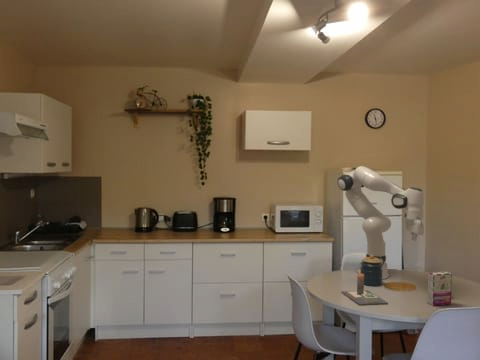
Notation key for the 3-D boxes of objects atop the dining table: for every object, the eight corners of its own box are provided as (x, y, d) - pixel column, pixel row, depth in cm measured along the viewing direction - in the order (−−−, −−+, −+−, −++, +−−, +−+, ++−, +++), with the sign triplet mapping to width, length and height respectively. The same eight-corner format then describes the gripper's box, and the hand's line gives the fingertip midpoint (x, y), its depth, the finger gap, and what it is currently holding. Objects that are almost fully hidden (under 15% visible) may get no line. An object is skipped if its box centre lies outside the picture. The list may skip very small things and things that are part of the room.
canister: (378, 287, 254) (379, 257, 253) (356, 284, 261) (357, 254, 260) (385, 283, 264) (385, 254, 264) (364, 279, 272) (364, 251, 271)
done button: (364, 298, 228) (364, 292, 228) (371, 298, 228) (371, 292, 228) (368, 300, 224) (368, 294, 224) (374, 300, 225) (374, 294, 225)
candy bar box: (444, 301, 229) (445, 271, 229) (451, 304, 224) (452, 273, 224) (426, 303, 226) (427, 272, 226) (433, 306, 222) (434, 274, 221)
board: (341, 292, 242) (341, 286, 242) (367, 291, 245) (368, 286, 245) (359, 305, 220) (359, 299, 220) (388, 304, 223) (388, 297, 223)
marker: (355, 293, 238) (356, 273, 238) (361, 293, 239) (362, 273, 239) (358, 295, 235) (359, 275, 235) (364, 295, 236) (365, 274, 235)
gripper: (427, 218, 237) (426, 243, 237) (414, 214, 257) (413, 237, 258) (415, 218, 237) (414, 243, 238) (403, 214, 258) (402, 237, 258)
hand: (414, 240), depth 248 cm, fingers closed
